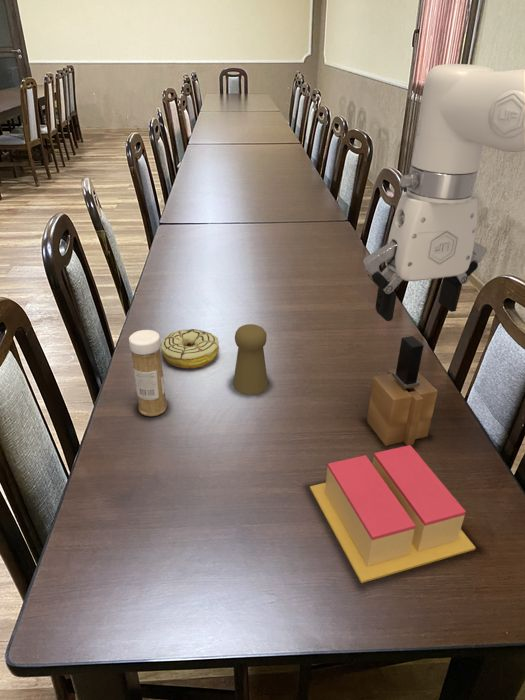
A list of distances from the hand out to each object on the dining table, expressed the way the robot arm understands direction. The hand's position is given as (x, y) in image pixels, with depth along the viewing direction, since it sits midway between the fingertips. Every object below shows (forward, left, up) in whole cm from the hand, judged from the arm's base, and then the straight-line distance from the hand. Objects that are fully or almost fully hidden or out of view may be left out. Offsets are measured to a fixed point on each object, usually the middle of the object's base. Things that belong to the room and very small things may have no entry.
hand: (415, 311), depth 72 cm
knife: (0, 0, -20) cm, 20 cm away
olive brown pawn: (+18, -18, -20) cm, 32 cm away
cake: (+10, +15, -20) cm, 27 cm away
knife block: (0, 0, -20) cm, 20 cm away
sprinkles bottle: (+35, -16, -20) cm, 43 cm away
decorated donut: (+26, -30, -20) cm, 44 cm away
